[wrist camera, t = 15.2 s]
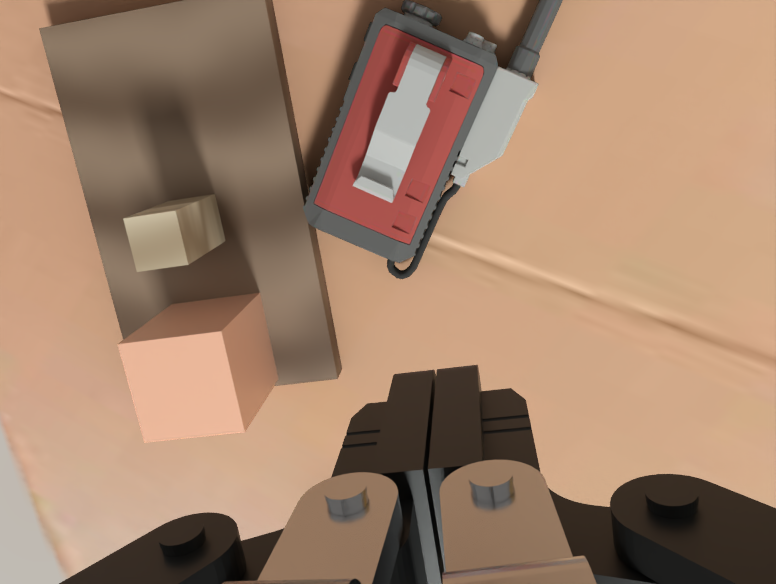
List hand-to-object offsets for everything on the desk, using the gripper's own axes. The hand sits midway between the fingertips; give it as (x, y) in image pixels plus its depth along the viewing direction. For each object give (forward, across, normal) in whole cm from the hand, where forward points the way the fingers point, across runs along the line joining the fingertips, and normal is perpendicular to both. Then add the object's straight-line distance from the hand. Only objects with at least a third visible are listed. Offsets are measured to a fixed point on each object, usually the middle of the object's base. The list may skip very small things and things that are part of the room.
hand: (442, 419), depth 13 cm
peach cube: (+26, +14, +6) cm, 30 cm away
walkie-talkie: (+28, 0, -6) cm, 28 cm away
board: (+27, +14, -2) cm, 30 cm away
